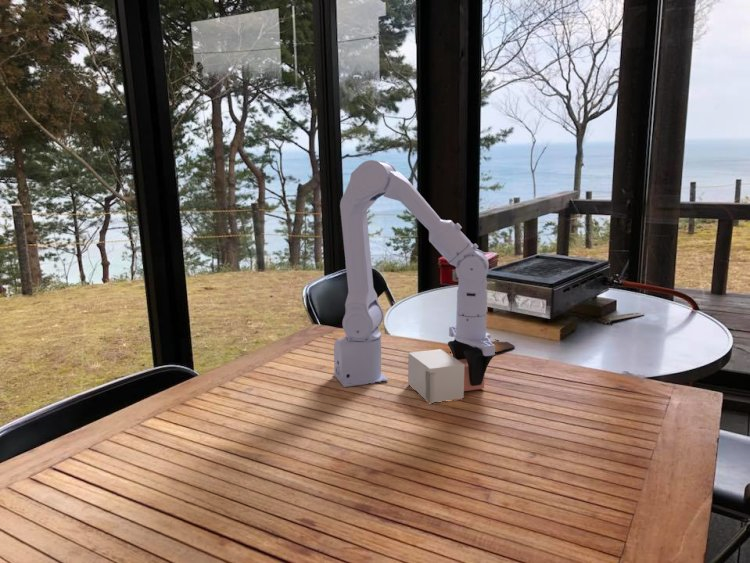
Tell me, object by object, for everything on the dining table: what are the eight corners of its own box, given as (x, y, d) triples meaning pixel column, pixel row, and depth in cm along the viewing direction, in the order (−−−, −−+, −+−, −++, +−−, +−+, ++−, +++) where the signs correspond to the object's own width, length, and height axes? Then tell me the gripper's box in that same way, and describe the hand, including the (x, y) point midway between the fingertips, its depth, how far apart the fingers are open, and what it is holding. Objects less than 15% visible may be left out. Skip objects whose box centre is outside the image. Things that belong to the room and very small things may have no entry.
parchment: (496, 339, 142) (496, 336, 142) (524, 348, 134) (524, 345, 134) (418, 357, 130) (418, 353, 130) (444, 368, 121) (444, 364, 121)
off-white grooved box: (429, 404, 101) (430, 368, 100) (408, 385, 110) (408, 352, 109) (463, 399, 103) (464, 364, 102) (439, 381, 113) (440, 349, 111)
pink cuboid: (433, 395, 104) (433, 371, 103) (423, 387, 108) (423, 364, 108) (484, 388, 108) (484, 364, 107) (472, 380, 112) (473, 357, 111)
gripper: (510, 320, 101) (507, 390, 104) (471, 303, 115) (469, 366, 117) (476, 323, 99) (474, 395, 101) (440, 306, 112) (439, 370, 115)
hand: (469, 380), depth 109 cm, fingers closed on pink cuboid, 4 cm apart
